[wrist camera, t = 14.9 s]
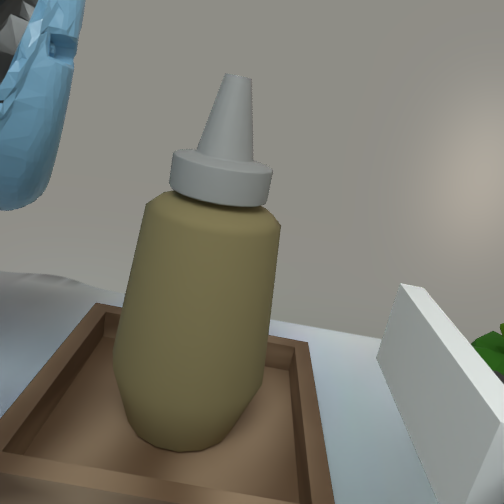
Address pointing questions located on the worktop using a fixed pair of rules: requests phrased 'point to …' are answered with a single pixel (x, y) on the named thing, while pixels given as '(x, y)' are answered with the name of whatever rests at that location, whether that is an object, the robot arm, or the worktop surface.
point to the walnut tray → (147, 455)
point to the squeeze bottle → (201, 287)
